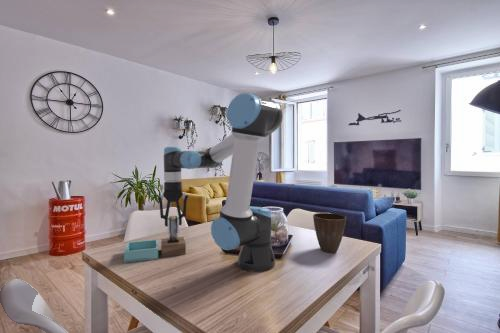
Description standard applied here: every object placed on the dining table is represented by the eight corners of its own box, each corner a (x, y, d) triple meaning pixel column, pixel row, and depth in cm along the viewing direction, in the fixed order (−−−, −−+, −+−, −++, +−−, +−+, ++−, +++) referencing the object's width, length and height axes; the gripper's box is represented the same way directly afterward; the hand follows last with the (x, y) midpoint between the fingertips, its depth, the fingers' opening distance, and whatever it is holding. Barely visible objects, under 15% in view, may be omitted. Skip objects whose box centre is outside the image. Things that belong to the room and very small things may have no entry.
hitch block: (185, 254, 115) (185, 243, 115) (161, 257, 112) (161, 245, 112) (183, 247, 124) (183, 236, 124) (161, 249, 121) (161, 238, 121)
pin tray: (158, 258, 110) (158, 248, 110) (124, 262, 105) (124, 252, 105) (158, 248, 122) (157, 239, 122) (127, 252, 118) (127, 242, 118)
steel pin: (177, 247, 117) (177, 217, 116) (169, 248, 116) (169, 217, 115) (177, 245, 120) (176, 215, 120) (169, 246, 119) (169, 216, 119)
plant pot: (316, 243, 132) (316, 211, 131) (347, 247, 125) (347, 214, 125) (309, 252, 118) (309, 217, 118) (344, 258, 112) (344, 221, 111)
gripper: (190, 180, 123) (190, 229, 124) (153, 181, 118) (154, 232, 118) (192, 181, 116) (192, 233, 117) (153, 182, 111) (153, 236, 111)
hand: (173, 232), depth 118 cm, fingers closed on steel pin, 3 cm apart
